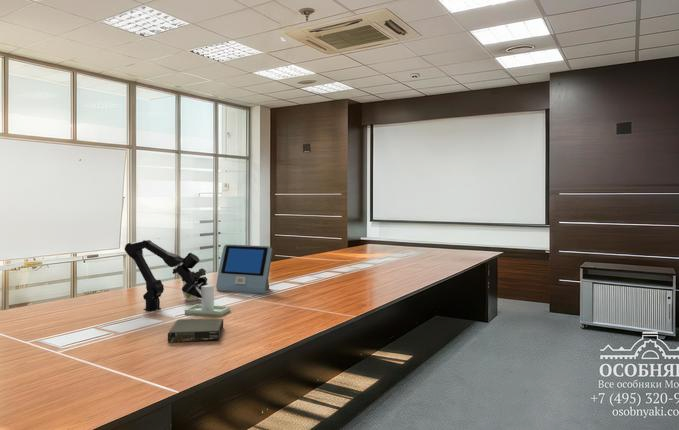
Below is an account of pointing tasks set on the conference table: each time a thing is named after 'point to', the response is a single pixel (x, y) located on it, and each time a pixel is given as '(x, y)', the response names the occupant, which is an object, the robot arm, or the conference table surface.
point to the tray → (197, 310)
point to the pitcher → (189, 296)
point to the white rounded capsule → (207, 297)
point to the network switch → (195, 330)
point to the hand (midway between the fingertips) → (205, 296)
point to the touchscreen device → (244, 269)
